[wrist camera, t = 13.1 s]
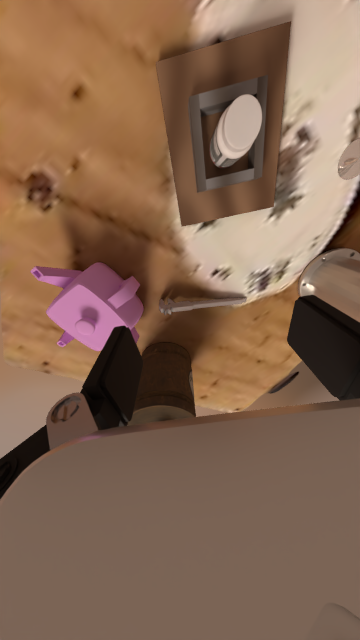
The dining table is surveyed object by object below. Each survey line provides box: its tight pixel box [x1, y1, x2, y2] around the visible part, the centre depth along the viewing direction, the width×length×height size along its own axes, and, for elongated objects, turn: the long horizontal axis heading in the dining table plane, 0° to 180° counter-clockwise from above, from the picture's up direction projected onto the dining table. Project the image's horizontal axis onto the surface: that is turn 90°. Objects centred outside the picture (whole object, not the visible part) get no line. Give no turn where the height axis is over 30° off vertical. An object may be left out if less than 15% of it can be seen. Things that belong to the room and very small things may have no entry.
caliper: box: [159, 298, 247, 315], centre depth 38 cm, size 20×1×6 cm, turn 90°
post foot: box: [156, 21, 291, 226], centre depth 24 cm, size 16×18×4 cm
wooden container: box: [128, 342, 196, 426], centre depth 41 cm, size 15×15×22 cm
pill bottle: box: [210, 94, 262, 168], centre depth 21 cm, size 5×5×8 cm
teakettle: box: [30, 262, 144, 351], centre depth 34 cm, size 17×17×12 cm
